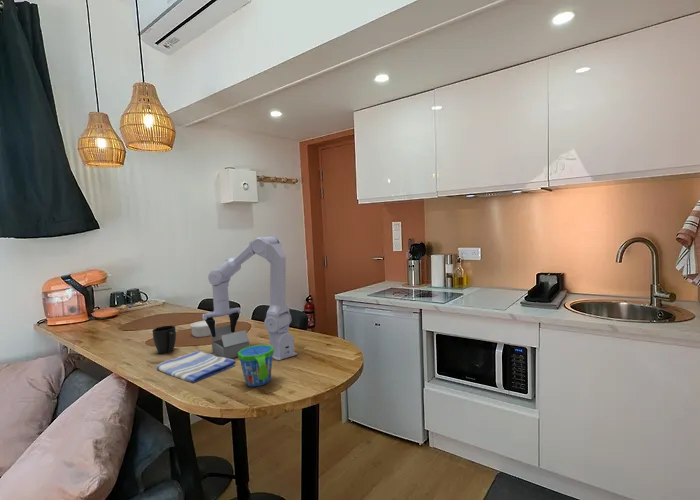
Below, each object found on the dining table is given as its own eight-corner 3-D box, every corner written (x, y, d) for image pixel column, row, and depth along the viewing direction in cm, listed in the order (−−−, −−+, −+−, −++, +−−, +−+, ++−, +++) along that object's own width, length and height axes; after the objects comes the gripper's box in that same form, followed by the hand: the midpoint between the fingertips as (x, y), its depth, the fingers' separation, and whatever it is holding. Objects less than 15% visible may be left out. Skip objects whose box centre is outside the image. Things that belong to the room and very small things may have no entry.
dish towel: (200, 355, 142) (199, 348, 142) (238, 366, 128) (237, 358, 128) (154, 371, 128) (153, 363, 128) (191, 385, 114) (191, 376, 114)
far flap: (233, 324, 149) (233, 324, 150) (210, 329, 143) (209, 329, 144) (235, 334, 149) (235, 335, 149) (212, 340, 143) (211, 340, 143)
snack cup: (238, 376, 118) (235, 345, 117) (271, 370, 122) (269, 340, 121) (242, 396, 104) (240, 361, 103) (280, 388, 107) (277, 354, 107)
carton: (250, 353, 140) (249, 341, 139) (224, 360, 133) (223, 348, 133) (237, 346, 149) (236, 335, 149) (212, 353, 143) (211, 341, 142)
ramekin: (218, 335, 167) (217, 323, 167) (191, 339, 162) (190, 328, 162) (215, 329, 177) (214, 318, 177) (190, 333, 173) (189, 322, 172)
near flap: (248, 341, 139) (249, 340, 139) (224, 347, 133) (224, 347, 133) (245, 330, 140) (245, 329, 140) (220, 336, 134) (221, 335, 134)
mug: (162, 358, 139) (160, 334, 138) (151, 352, 148) (149, 329, 147) (184, 352, 145) (182, 328, 144) (172, 346, 153) (170, 324, 153)
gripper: (234, 295, 152) (237, 328, 153) (198, 301, 143) (201, 336, 144) (241, 298, 146) (244, 331, 147) (204, 304, 137) (207, 339, 138)
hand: (223, 334), depth 145 cm, fingers open, 7 cm apart
